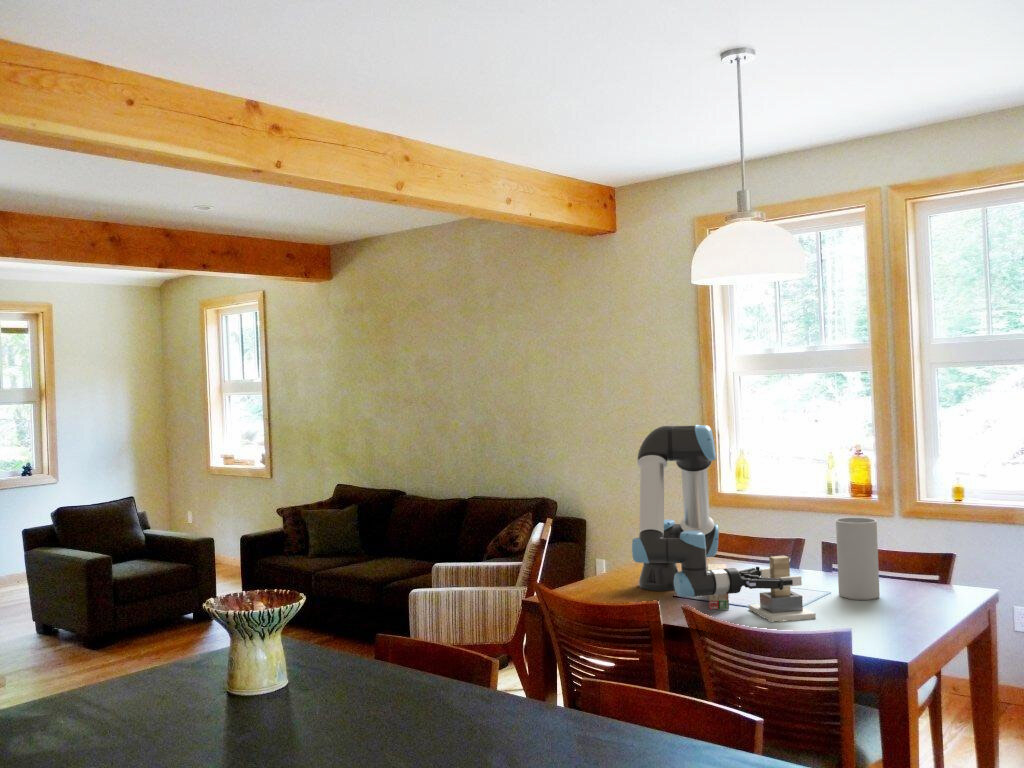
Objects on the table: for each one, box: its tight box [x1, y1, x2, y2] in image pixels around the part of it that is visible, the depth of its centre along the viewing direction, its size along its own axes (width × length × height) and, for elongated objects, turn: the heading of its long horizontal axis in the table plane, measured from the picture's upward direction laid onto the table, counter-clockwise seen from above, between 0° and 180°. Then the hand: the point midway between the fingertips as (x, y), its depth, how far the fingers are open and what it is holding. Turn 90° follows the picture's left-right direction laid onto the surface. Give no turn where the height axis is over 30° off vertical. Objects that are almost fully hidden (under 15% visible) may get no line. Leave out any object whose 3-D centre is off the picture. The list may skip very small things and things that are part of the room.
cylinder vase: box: [835, 516, 881, 601], centre depth 291 cm, size 12×12×25 cm
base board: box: [748, 603, 817, 622], centre depth 272 cm, size 16×14×2 cm
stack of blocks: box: [706, 563, 730, 611], centre depth 290 cm, size 21×6×12 cm, turn 168°
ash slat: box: [768, 555, 791, 597], centre depth 272 cm, size 3×5×16 cm, turn 100°
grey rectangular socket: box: [759, 590, 804, 613], centre depth 272 cm, size 8×10×4 cm
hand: (790, 576), depth 273 cm, fingers open, 12 cm apart
